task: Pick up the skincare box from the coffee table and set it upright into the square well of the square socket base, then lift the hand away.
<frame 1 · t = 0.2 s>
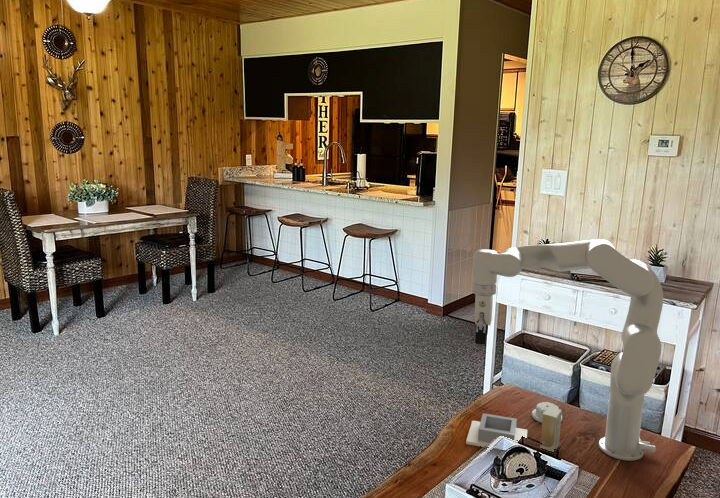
hand: (481, 338, 182), 31 cm above the table, tool pointing down, fingers open, 9 cm apart
square socket base: (497, 438, 180), on the table
skincare box: (549, 447, 175), on the table
mechanical component: (546, 418, 194), on the table
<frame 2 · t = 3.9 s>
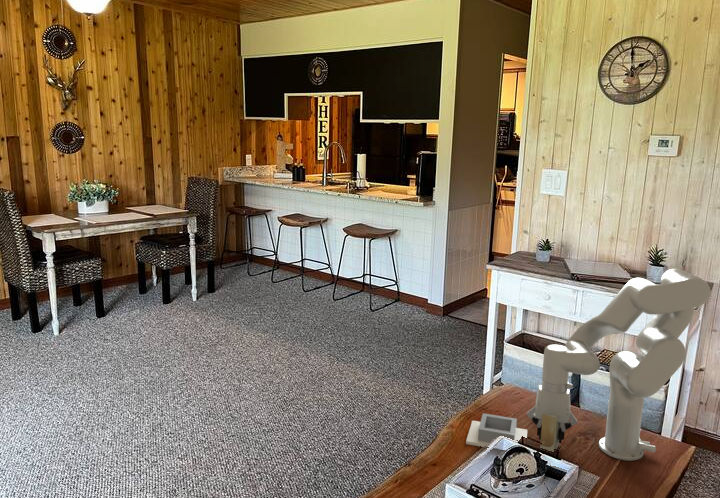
hand: (550, 438, 174), 3 cm above the table, tool pointing down, fingers closed on skincare box, 5 cm apart
skincare box: (549, 447, 175), on the table, touching gripper
everything else where it was.
when the fingers open (5 cm above the table, at t = 9.4 s): skincare box drops 1 cm, resting on square socket base.
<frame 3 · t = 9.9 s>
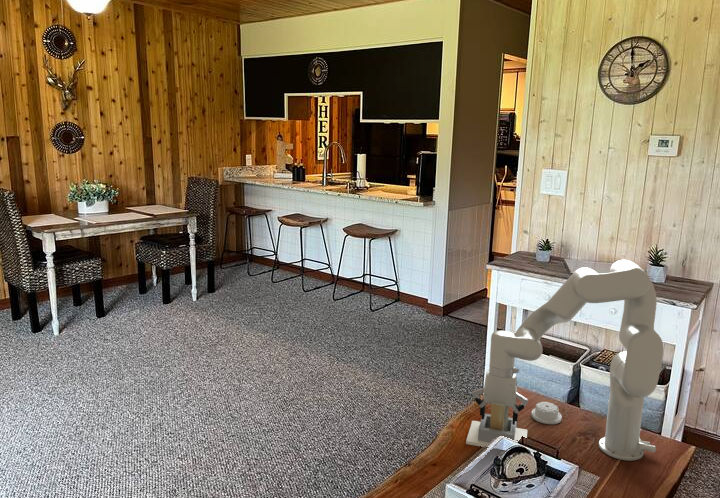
hand: (498, 420, 179), 6 cm above the table, tool pointing down, fingers open, 9 cm apart
skincare box: (498, 436, 180), point 1 cm above the table, touching square socket base
everything else where it was.
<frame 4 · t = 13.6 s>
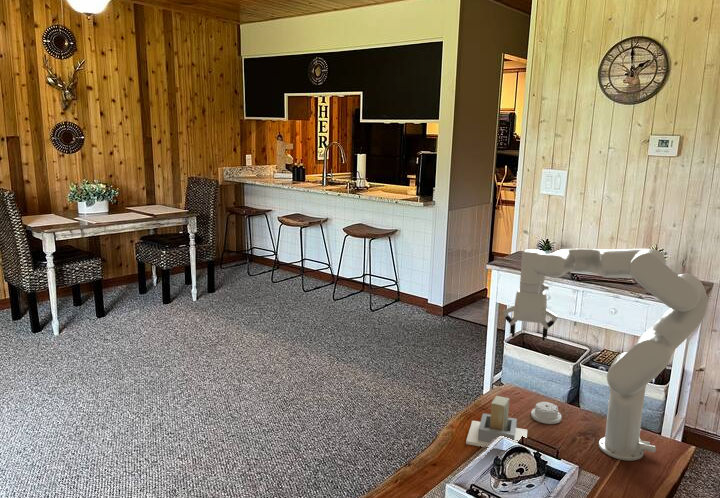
hand: (528, 337, 185), 30 cm above the table, tool pointing down, fingers open, 9 cm apart
nothing on the table moved.
at the end: skincare box 0.3 cm off-centre on the square socket base, point 0.8 cm above the square socket base's base; skincare box tilted 0°; the gripper is holding nothing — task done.
